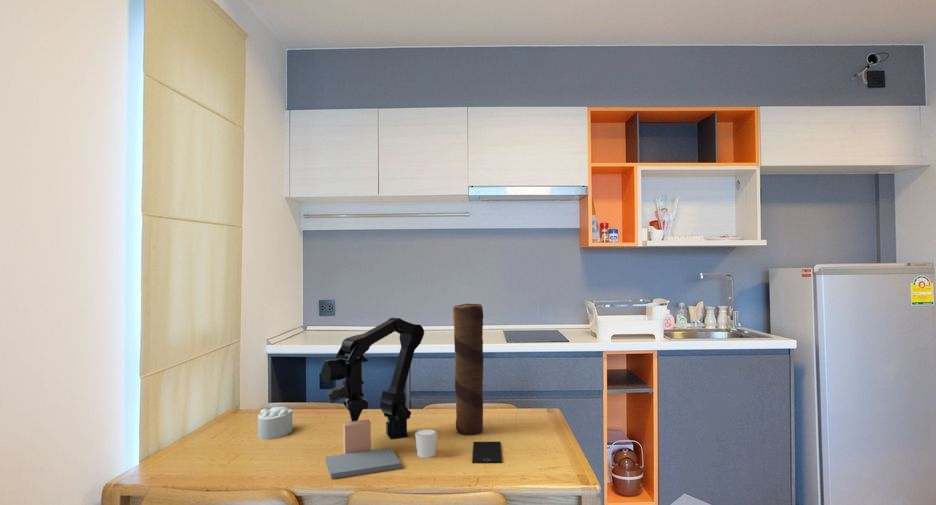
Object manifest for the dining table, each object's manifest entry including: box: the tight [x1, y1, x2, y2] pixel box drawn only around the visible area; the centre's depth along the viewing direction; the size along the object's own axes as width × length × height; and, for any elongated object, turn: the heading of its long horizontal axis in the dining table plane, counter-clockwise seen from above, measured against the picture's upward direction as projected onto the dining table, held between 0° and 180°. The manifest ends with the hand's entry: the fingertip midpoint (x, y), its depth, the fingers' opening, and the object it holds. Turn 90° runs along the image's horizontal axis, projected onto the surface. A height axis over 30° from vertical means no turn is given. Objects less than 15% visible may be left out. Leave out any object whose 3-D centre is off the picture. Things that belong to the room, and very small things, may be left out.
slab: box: [342, 419, 372, 454], centre depth 172 cm, size 8×4×10 cm, turn 111°
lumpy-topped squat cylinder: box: [257, 406, 293, 441], centre depth 194 cm, size 10×13×9 cm
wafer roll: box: [452, 303, 484, 436], centre depth 193 cm, size 10×11×45 cm
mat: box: [325, 447, 402, 480], centre depth 162 cm, size 20×14×2 cm
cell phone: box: [471, 441, 503, 464], centre depth 171 cm, size 9×18×1 cm, turn 178°
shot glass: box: [414, 428, 438, 459], centre depth 170 cm, size 7×7×7 cm
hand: (354, 425), depth 177 cm, fingers closed
